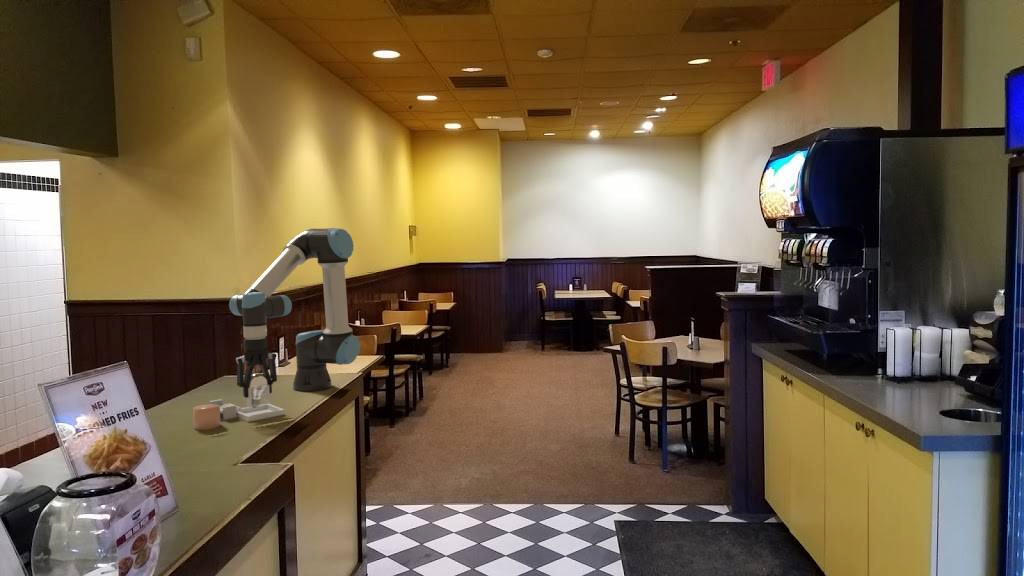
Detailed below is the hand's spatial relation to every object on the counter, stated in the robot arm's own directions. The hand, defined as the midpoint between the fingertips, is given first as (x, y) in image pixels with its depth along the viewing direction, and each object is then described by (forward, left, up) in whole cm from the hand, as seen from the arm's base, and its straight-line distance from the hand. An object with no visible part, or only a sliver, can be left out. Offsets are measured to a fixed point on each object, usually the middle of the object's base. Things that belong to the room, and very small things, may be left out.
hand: (258, 404), depth 243 cm
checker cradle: (+9, -8, -4) cm, 13 cm away
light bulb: (+1, -1, -1) cm, 2 cm away
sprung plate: (+9, -8, -2) cm, 12 cm away
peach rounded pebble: (+18, +2, -4) cm, 19 cm away
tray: (0, 0, -4) cm, 4 cm away
